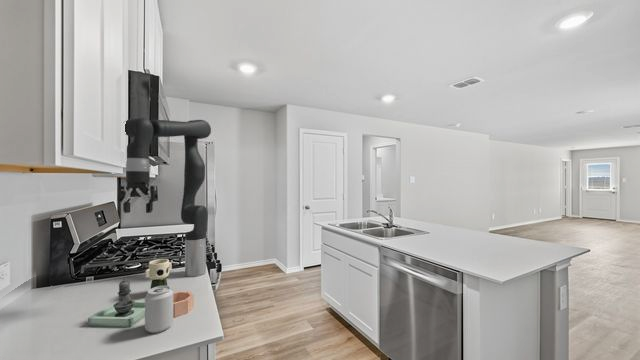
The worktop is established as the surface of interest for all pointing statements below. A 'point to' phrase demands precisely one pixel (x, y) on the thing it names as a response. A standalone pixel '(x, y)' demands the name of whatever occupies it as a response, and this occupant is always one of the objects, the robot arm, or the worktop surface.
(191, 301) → the orange polygonal bowl
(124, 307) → the grey lumpy tower
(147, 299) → the can
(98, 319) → the tray
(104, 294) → the worktop surface
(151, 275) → the character mug
